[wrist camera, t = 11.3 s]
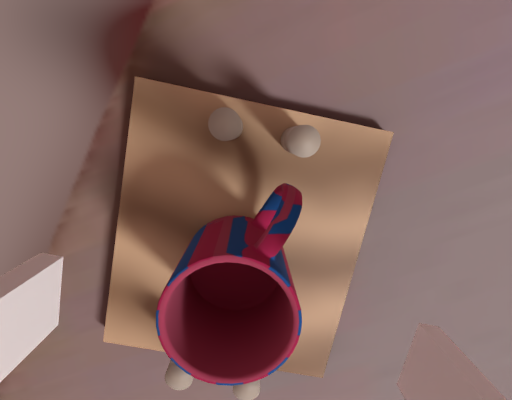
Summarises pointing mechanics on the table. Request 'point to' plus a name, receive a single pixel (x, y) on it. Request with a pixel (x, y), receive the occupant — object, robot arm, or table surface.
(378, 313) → the table surface
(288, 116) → the wooden peg board
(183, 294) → the cup
